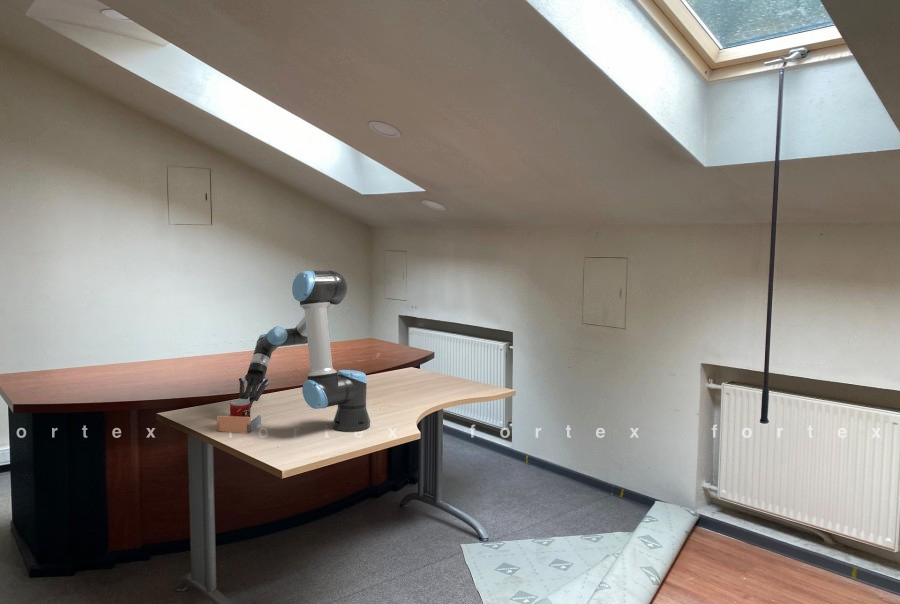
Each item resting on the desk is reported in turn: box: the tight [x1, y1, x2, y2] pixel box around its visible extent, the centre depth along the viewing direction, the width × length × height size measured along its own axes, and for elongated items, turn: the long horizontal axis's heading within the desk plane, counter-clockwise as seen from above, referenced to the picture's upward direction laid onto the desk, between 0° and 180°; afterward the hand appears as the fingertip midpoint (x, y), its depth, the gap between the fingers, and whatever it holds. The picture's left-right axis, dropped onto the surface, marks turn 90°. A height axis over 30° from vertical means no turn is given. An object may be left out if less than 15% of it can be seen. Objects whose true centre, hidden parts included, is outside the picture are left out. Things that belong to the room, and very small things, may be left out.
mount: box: [216, 414, 262, 434], centre depth 249 cm, size 13×12×6 cm
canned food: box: [229, 398, 251, 417], centre depth 248 cm, size 8×8×11 cm
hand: (243, 414), depth 253 cm, fingers closed
